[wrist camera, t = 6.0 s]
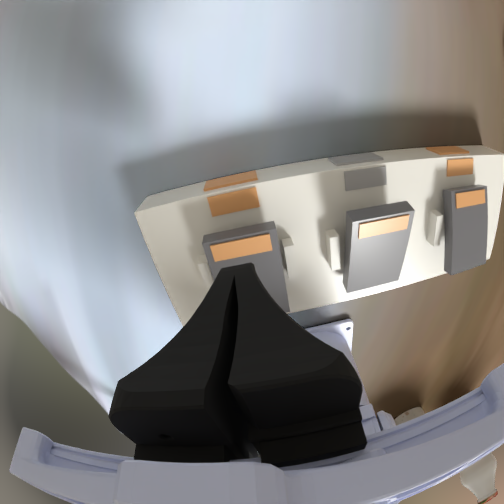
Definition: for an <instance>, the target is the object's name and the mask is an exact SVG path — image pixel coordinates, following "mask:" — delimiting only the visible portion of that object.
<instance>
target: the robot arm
mask: <svg viewBox="0 0 504 504" xmlns="http://www.w3.org/2000/svg"><path fill="white" fill-rule="evenodd" d="M347 327H348V328H347ZM352 335H353V321H352V320H351V319H346V320H341V321H337V322H333V323H329V324H325V325H320V326H316V327H311V328H306V329H304V328H303V327H301V326H300V325H299V324H297V323H296V322H295V321H294V320H293V319H292V318H291V317H290V316H289V315H288V314H286V313H285V312H284V311H283V310H282V308H281V307H280V306H279V305H278V304H277V303H276V302H275V300H274V299H273V298H272V297H271V295H270V294H269V293H268V291H267V290H266V288H265V287H264V285H263V284H262V282H261V281H260V279H259V277H258V275H257V273H256V270H255V266H254V264H253V263H251V262H250V263H245V264H240V265H235V266H230V267H225V268H221V269H220V271H219V273H218V275H217V276H216V278H215V280H214V282H213V284H212V286H211V287H210V289H209V291H208V292H207V294H206V296H205V297H204V299H203V301H202V302H201V304H200V305H199V307H198V308H197V310H196V311H195V312H194V314H193V315H192V317H191V318H190V319H189V321H188V322H187V323H186V324H185V326H184V327H183V328H182V329H181V330H180V331H179V332H178V334H177V335H176V336H175V337H174V338H173V339H172V340H171V341H170V342H168V343H167V344H166V345H165V346H164V347H163V348H162V349H161V350H160V351H159V352H158V353H157V354H155V355H154V356H153V357H152V358H151V359H149V360H148V361H147V362H145V363H144V364H143V365H141V366H140V367H139V368H137V369H136V370H134V371H133V372H131V373H130V374H128V375H127V376H125V377H124V378H122V379H120V380H119V381H118V384H117V387H116V390H115V393H114V397H113V400H112V404H111V408H110V412H109V419H110V421H111V422H112V424H113V425H114V426H115V427H116V428H117V429H118V430H119V431H120V432H122V433H123V434H124V435H125V436H127V437H128V438H129V439H131V440H132V441H133V442H134V443H136V449H135V456H134V457H125V456H117V455H110V454H105V453H99V452H94V451H88V450H83V449H79V448H74V447H70V446H66V445H62V444H58V443H55V442H52V441H51V440H50V439H49V438H48V437H47V436H45V435H44V434H42V433H40V432H38V431H35V430H32V429H28V428H25V427H24V428H22V431H21V434H20V437H19V440H18V443H17V446H16V449H15V453H14V456H13V459H12V463H11V467H10V473H12V474H14V475H15V476H17V477H19V478H20V479H22V480H24V481H25V482H27V483H29V484H31V485H33V486H35V487H36V488H38V489H41V490H42V491H44V492H46V493H48V494H50V495H53V496H55V497H57V498H60V499H62V500H65V501H68V502H70V503H73V504H398V503H399V502H400V501H401V500H403V499H406V498H408V497H410V496H413V495H415V494H417V493H419V492H422V491H424V490H426V489H428V488H430V487H432V486H434V485H436V484H438V483H440V482H442V481H444V480H446V479H448V478H449V477H451V476H453V475H455V474H457V473H459V472H460V471H462V470H464V469H465V468H467V467H469V466H470V465H472V464H474V463H475V462H477V461H478V460H480V459H481V458H483V457H484V456H486V455H487V454H489V453H490V452H492V451H493V450H495V449H496V448H497V447H499V446H500V445H502V444H503V443H504V364H502V365H500V366H499V367H497V368H496V369H494V370H493V371H491V372H490V373H489V374H488V375H487V376H486V377H485V379H484V380H483V382H482V383H481V386H480V387H478V388H476V389H475V390H473V391H471V392H469V393H467V394H466V395H464V396H462V397H460V398H458V399H456V400H454V401H452V402H450V403H448V404H446V405H444V406H442V407H440V408H437V409H435V410H433V411H431V412H429V413H426V414H424V415H422V416H419V417H417V418H414V419H412V420H409V421H407V422H404V423H402V424H399V425H396V424H395V421H394V419H393V417H392V416H391V414H389V413H386V412H384V411H383V410H382V411H379V412H377V418H378V420H377V418H376V415H375V412H374V409H373V406H372V404H370V403H369V400H368V397H367V394H366V392H365V389H364V386H363V383H362V380H361V378H360V375H359V372H358V369H357V367H356V364H355V361H354V359H353V356H352V353H351V349H352ZM378 422H379V423H378ZM257 451H258V452H257ZM258 453H259V455H260V456H261V457H259V458H258Z"/></svg>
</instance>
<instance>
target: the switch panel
mask: <svg viewBox="0 0 504 504" xmlns="http://www.w3.org/2000/svg"><path fill="white" fill-rule="evenodd" d="M503 183H504V154H503V153H501V152H499V151H496V150H494V149H491V148H489V147H486V146H483V145H469V146H440V147H423V148H409V149H397V150H386V151H376V152H367V153H359V154H351V155H343V156H336V157H329V158H322V159H315V160H309V161H303V162H297V163H291V164H285V165H280V166H274V167H269V168H264V169H258V170H253V171H248V172H244V173H239V174H234V175H230V176H225V177H221V178H216V179H212V180H208V181H203V182H199V183H195V184H191V185H187V186H183V187H179V188H176V189H172V190H168V191H164V192H161V193H157V194H153V195H150V196H147V197H146V199H145V200H144V201H143V202H142V203H141V205H140V206H139V207H138V208H137V210H136V211H135V212H134V214H135V216H136V219H137V222H138V224H139V227H140V229H141V232H142V235H143V237H144V240H145V242H146V245H147V247H148V249H149V252H150V254H151V257H152V259H153V262H154V264H155V266H156V269H157V271H158V273H159V275H160V278H161V280H162V282H163V285H164V287H165V289H166V291H167V293H168V296H169V298H170V300H171V302H172V304H173V306H174V308H175V311H176V313H177V315H178V317H179V319H180V321H181V323H182V325H183V327H184V326H185V324H186V323H187V322H188V321H189V319H190V318H191V317H192V315H193V314H194V312H195V311H196V310H197V308H198V307H199V305H200V304H201V302H202V301H203V299H204V297H205V296H206V294H207V292H208V291H209V289H210V287H211V286H212V284H213V282H214V279H213V276H212V273H211V270H210V267H209V264H208V261H207V258H206V255H205V252H204V249H203V245H202V241H203V236H204V235H207V234H211V233H216V232H221V231H226V230H230V229H235V228H240V227H245V226H250V225H255V224H260V223H265V222H270V221H274V223H275V226H276V230H277V236H278V241H279V247H280V253H281V259H282V265H283V271H284V277H285V283H286V289H287V295H288V302H289V308H290V312H287V313H286V314H288V313H293V312H298V311H303V310H308V309H312V308H317V307H321V306H326V305H330V304H335V303H339V302H343V301H347V300H351V299H356V298H360V297H364V296H368V295H371V294H375V293H379V292H383V291H387V290H390V289H394V288H398V287H401V286H405V285H408V284H412V283H415V282H419V281H422V280H425V279H429V278H432V277H435V276H439V275H442V274H445V273H447V272H445V271H444V250H445V228H444V202H443V189H449V188H456V187H463V186H471V185H478V184H479V185H484V186H487V198H488V234H487V253H486V260H487V259H489V258H490V255H491V251H492V247H493V243H494V238H495V234H496V229H497V223H498V218H499V212H500V206H501V199H502V191H503ZM402 201H407V202H408V203H409V204H410V205H411V206H412V207H413V209H414V210H415V213H414V218H413V223H412V228H411V232H410V237H409V241H408V246H407V250H406V254H405V258H404V262H403V265H402V269H401V273H400V276H399V280H398V281H394V282H390V283H386V284H382V285H379V286H375V287H371V288H367V289H363V290H359V291H354V292H350V293H346V290H345V288H344V285H343V283H342V282H343V268H344V252H345V232H346V211H350V210H356V209H362V208H367V207H373V206H379V205H384V204H390V203H396V202H402Z"/></svg>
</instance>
